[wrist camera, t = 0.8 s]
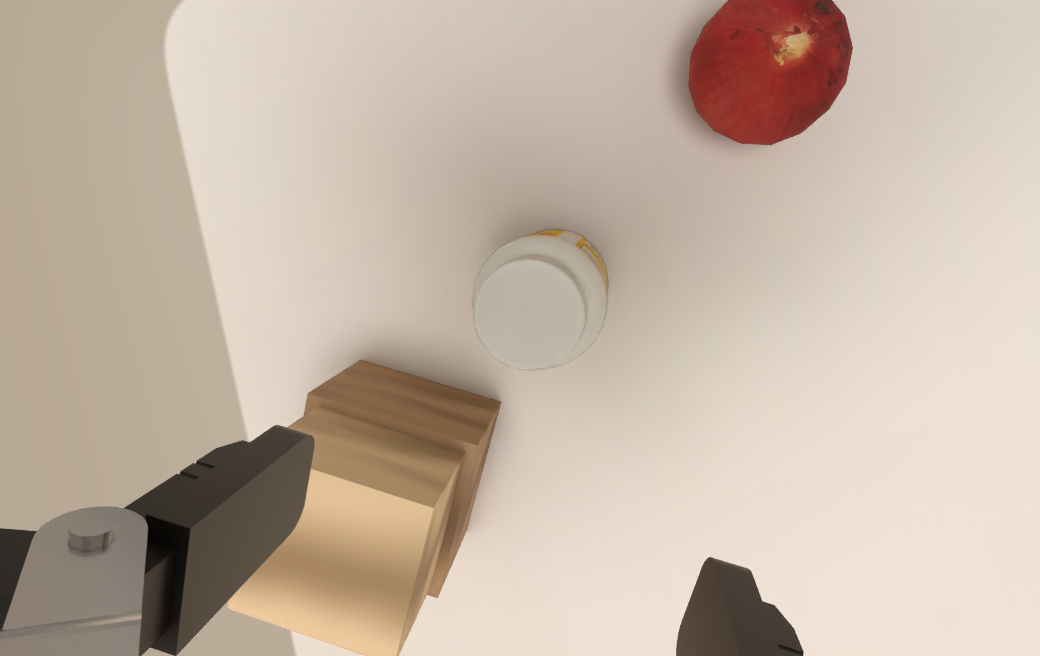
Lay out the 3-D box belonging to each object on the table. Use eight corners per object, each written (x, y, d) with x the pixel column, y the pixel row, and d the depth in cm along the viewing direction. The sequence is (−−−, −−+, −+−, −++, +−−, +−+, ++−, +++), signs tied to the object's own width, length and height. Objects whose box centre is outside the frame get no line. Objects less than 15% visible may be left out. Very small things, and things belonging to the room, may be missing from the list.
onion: (755, -15, 26) (818, -107, 18) (841, 84, 26) (938, 35, 19) (653, 85, 28) (670, 38, 20) (735, 178, 28) (784, 168, 20)
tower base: (361, 359, 33) (307, 393, 27) (501, 401, 32) (477, 445, 26) (335, 488, 34) (279, 545, 29) (466, 530, 34) (437, 597, 28)
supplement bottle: (625, 254, 29) (634, 278, 20) (581, 350, 31) (569, 414, 21) (525, 210, 30) (487, 214, 20) (485, 308, 31) (432, 353, 22)
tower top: (318, 406, 27) (253, 450, 22) (465, 452, 26) (433, 508, 21) (292, 539, 28) (227, 608, 24) (430, 585, 28) (393, 665, 23)
